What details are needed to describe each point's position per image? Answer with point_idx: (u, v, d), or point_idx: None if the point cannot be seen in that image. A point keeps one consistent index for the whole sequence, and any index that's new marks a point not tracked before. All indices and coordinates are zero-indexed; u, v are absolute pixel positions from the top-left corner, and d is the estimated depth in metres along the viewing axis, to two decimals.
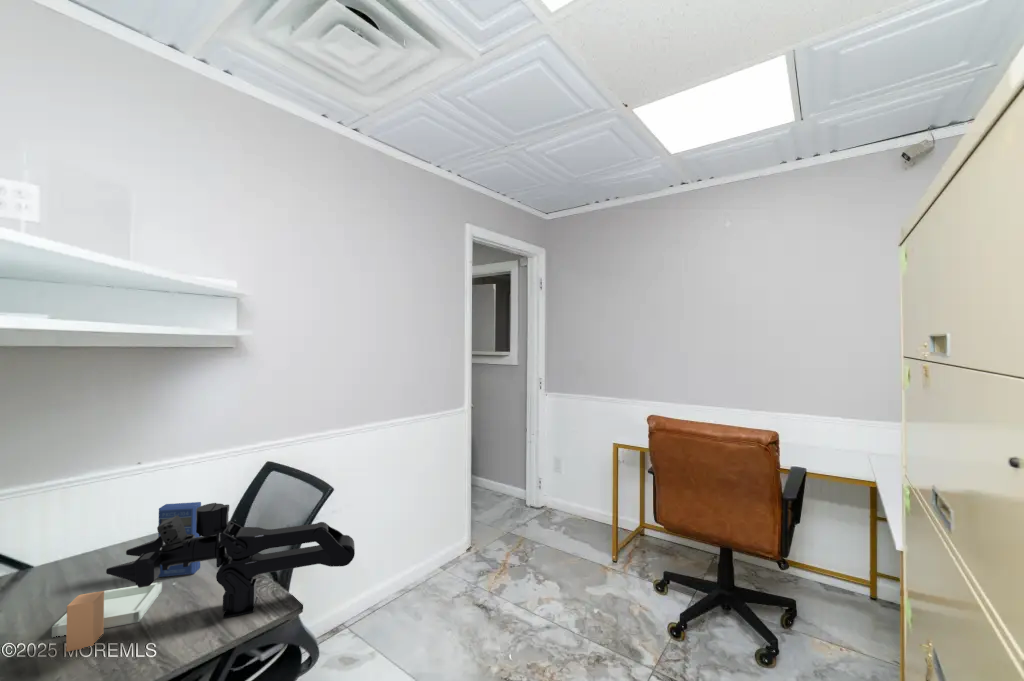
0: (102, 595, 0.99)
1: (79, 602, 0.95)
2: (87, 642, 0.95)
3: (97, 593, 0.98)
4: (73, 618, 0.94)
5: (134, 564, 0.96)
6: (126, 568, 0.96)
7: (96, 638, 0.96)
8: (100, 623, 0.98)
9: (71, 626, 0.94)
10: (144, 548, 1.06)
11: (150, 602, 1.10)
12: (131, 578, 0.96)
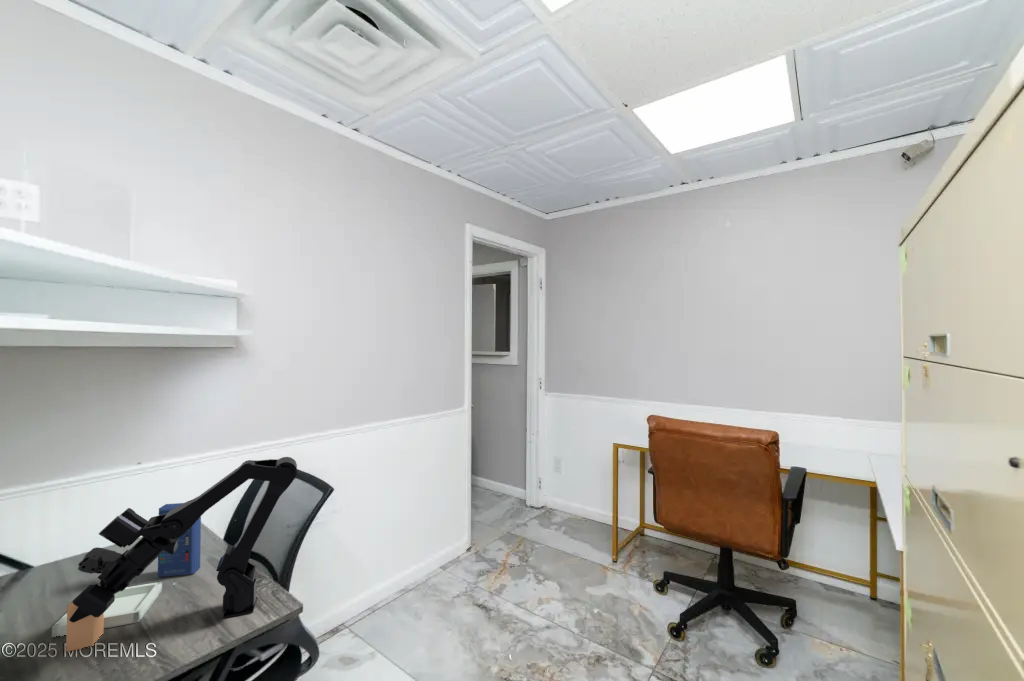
0: None
1: None
2: (87, 642, 0.95)
3: None
4: None
5: None
6: None
7: (96, 638, 0.96)
8: (100, 623, 0.98)
9: (71, 626, 0.94)
10: None
11: (150, 602, 1.10)
12: None
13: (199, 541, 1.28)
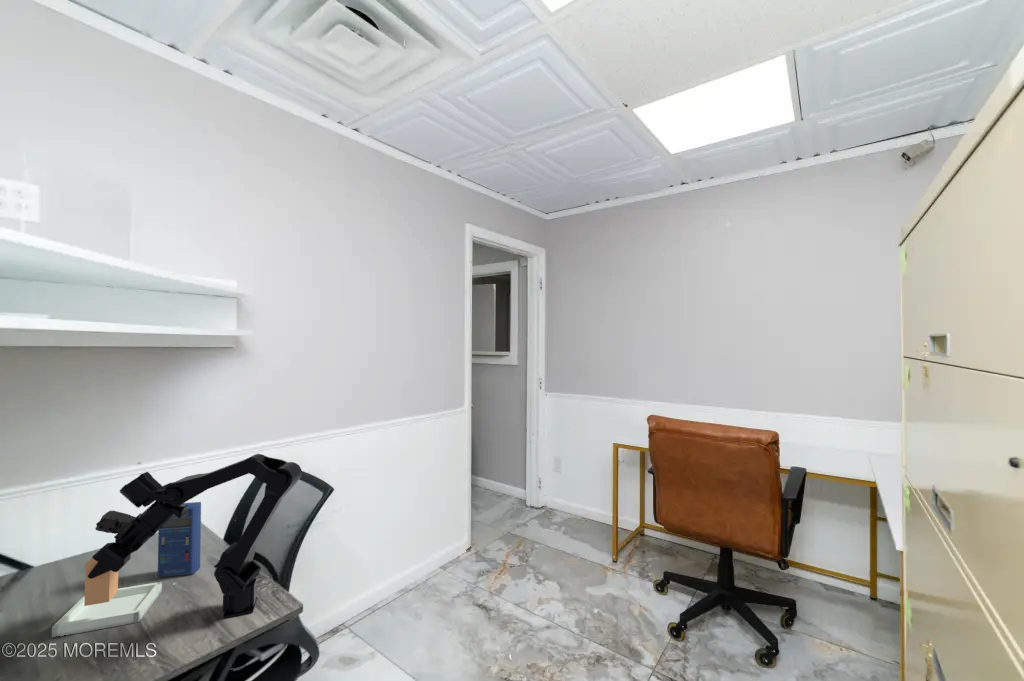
0: None
1: None
2: (104, 597, 1.01)
3: None
4: None
5: None
6: (101, 564, 1.00)
7: (112, 594, 1.03)
8: (115, 581, 1.05)
9: (88, 582, 1.00)
10: None
11: (150, 602, 1.10)
12: None
13: (199, 541, 1.28)
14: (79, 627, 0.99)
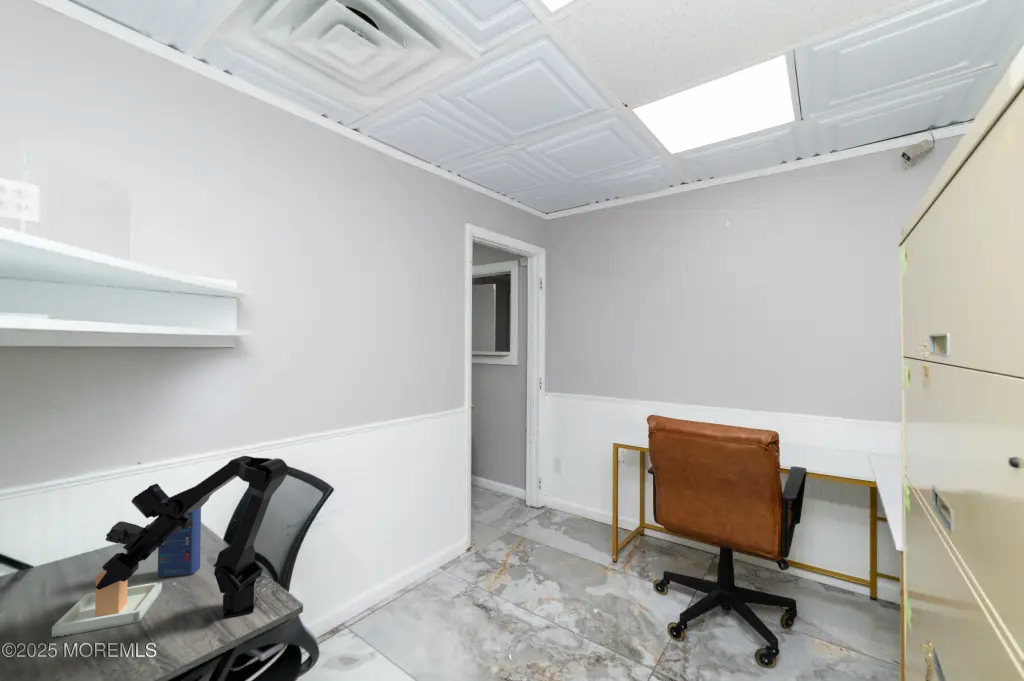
0: None
1: None
2: (113, 609, 1.05)
3: None
4: None
5: None
6: (108, 576, 1.03)
7: (121, 606, 1.07)
8: (124, 593, 1.09)
9: (99, 594, 1.04)
10: None
11: (150, 602, 1.10)
12: None
13: (199, 541, 1.28)
14: (79, 627, 0.99)
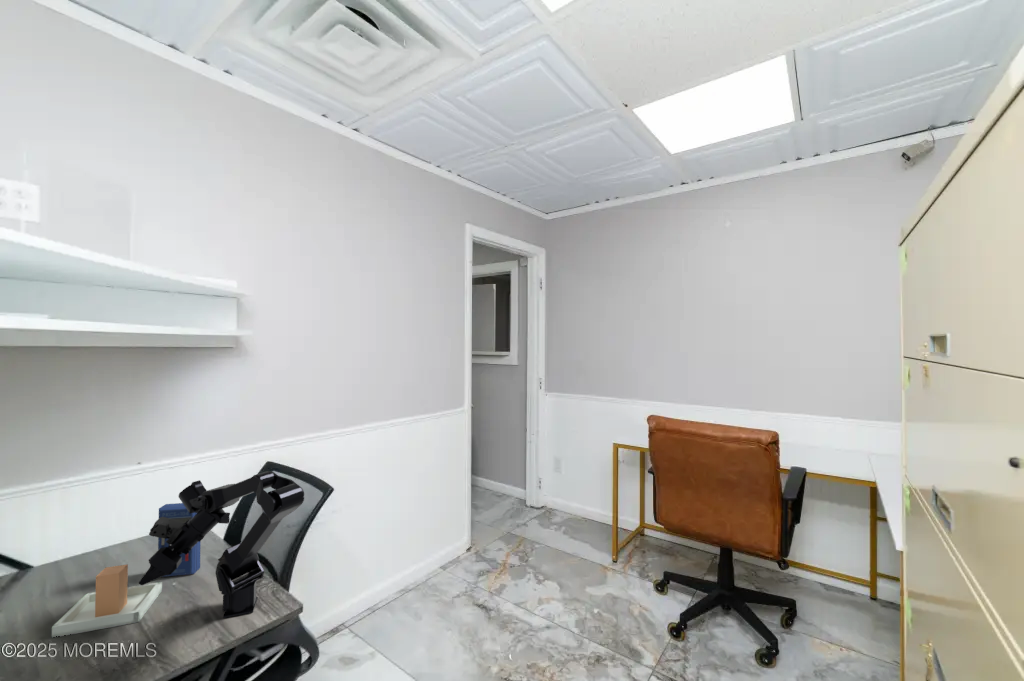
0: (126, 567, 1.09)
1: (106, 573, 1.06)
2: (113, 609, 1.05)
3: (122, 566, 1.09)
4: (101, 587, 1.05)
5: None
6: (151, 572, 1.05)
7: (121, 606, 1.07)
8: (124, 593, 1.09)
9: (99, 594, 1.04)
10: None
11: (150, 602, 1.10)
12: (161, 574, 1.06)
13: None
14: (79, 627, 0.99)
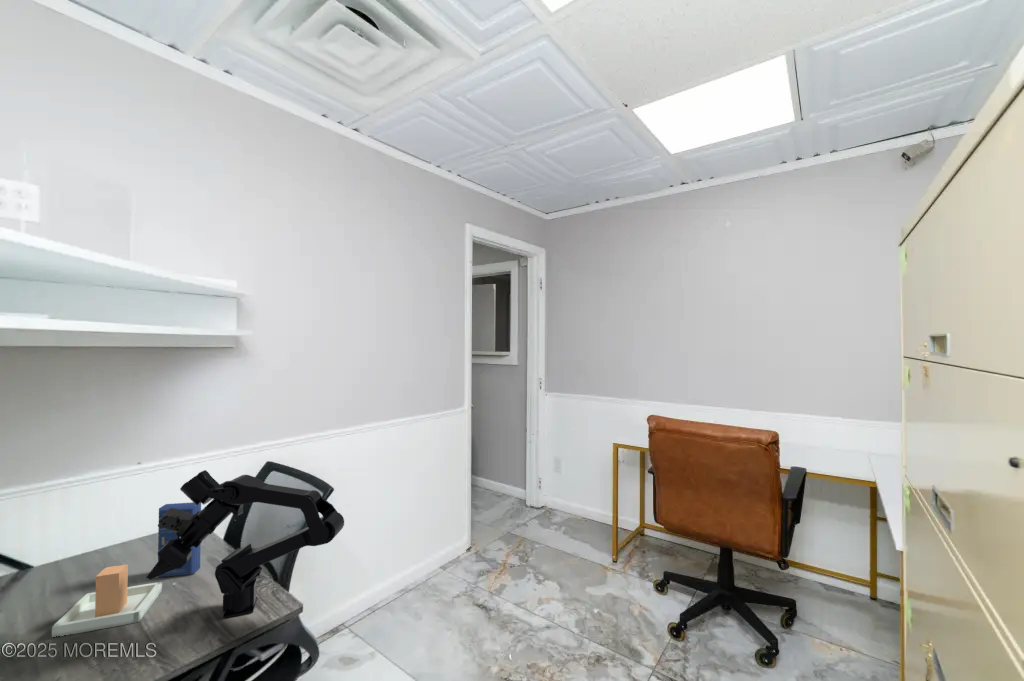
0: (126, 567, 1.09)
1: (106, 573, 1.06)
2: (113, 609, 1.05)
3: (122, 566, 1.09)
4: (101, 587, 1.05)
5: (161, 558, 0.99)
6: (159, 565, 1.00)
7: (121, 606, 1.07)
8: (124, 593, 1.09)
9: (99, 594, 1.04)
10: None
11: (150, 602, 1.10)
12: (171, 568, 1.00)
13: None
14: (79, 627, 0.99)
